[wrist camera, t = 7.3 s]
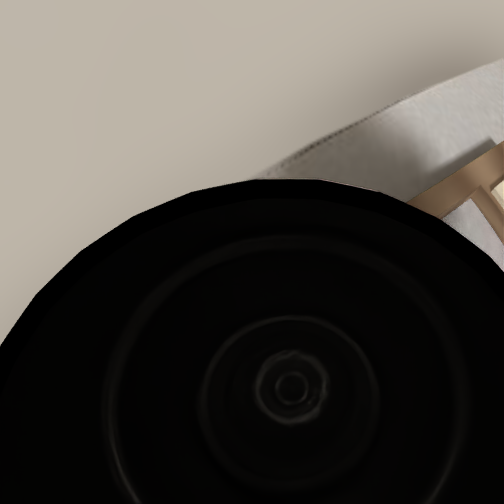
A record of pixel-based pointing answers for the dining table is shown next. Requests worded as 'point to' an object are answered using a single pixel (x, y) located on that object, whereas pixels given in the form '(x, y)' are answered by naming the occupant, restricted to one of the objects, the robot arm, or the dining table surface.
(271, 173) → the dining table surface
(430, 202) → the puzzle board
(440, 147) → the dining table surface
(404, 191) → the dining table surface
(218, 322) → the plastic bottle
